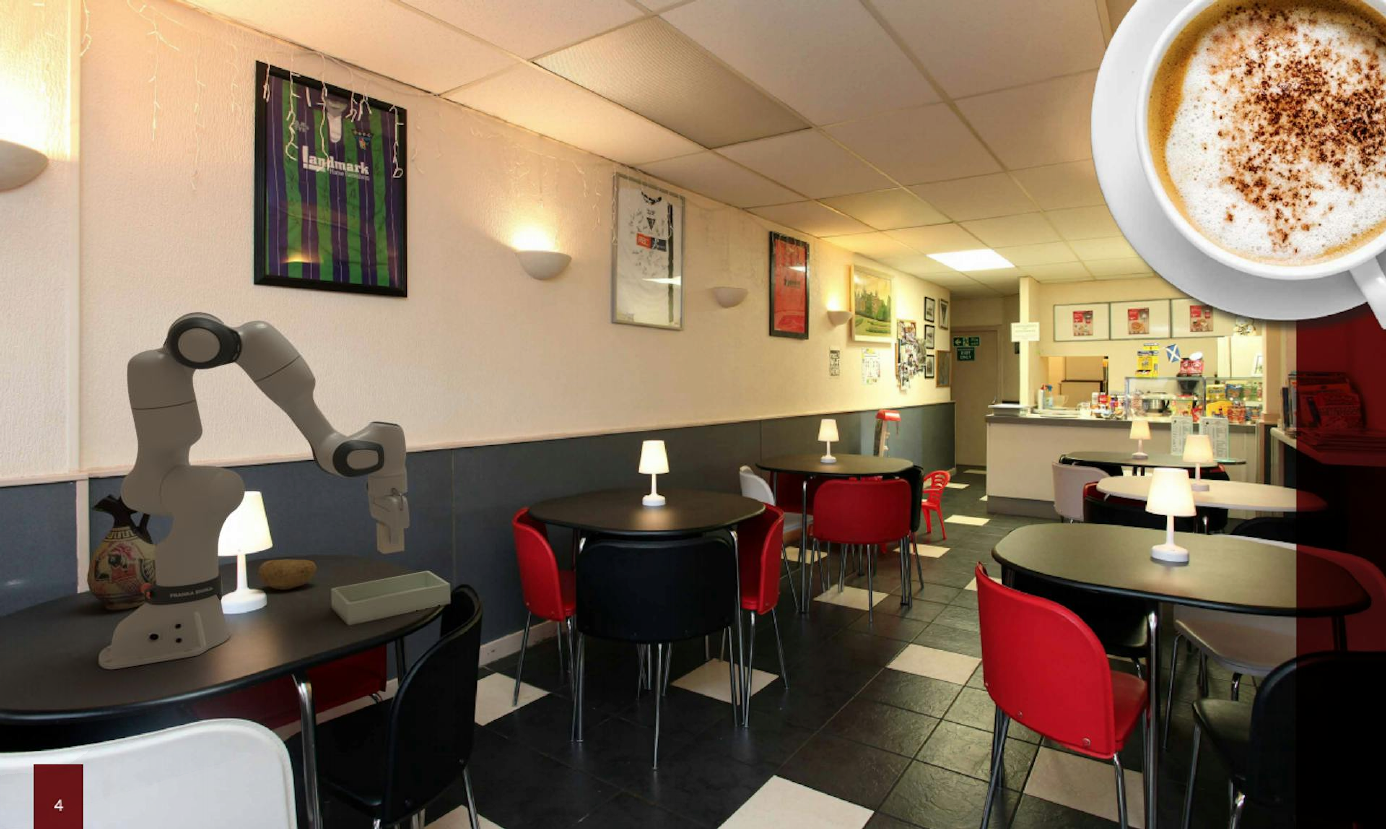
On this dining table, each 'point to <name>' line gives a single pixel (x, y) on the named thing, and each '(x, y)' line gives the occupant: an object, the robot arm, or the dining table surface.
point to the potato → (286, 573)
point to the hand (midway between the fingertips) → (390, 540)
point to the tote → (389, 597)
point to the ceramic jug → (122, 558)
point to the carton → (388, 539)
